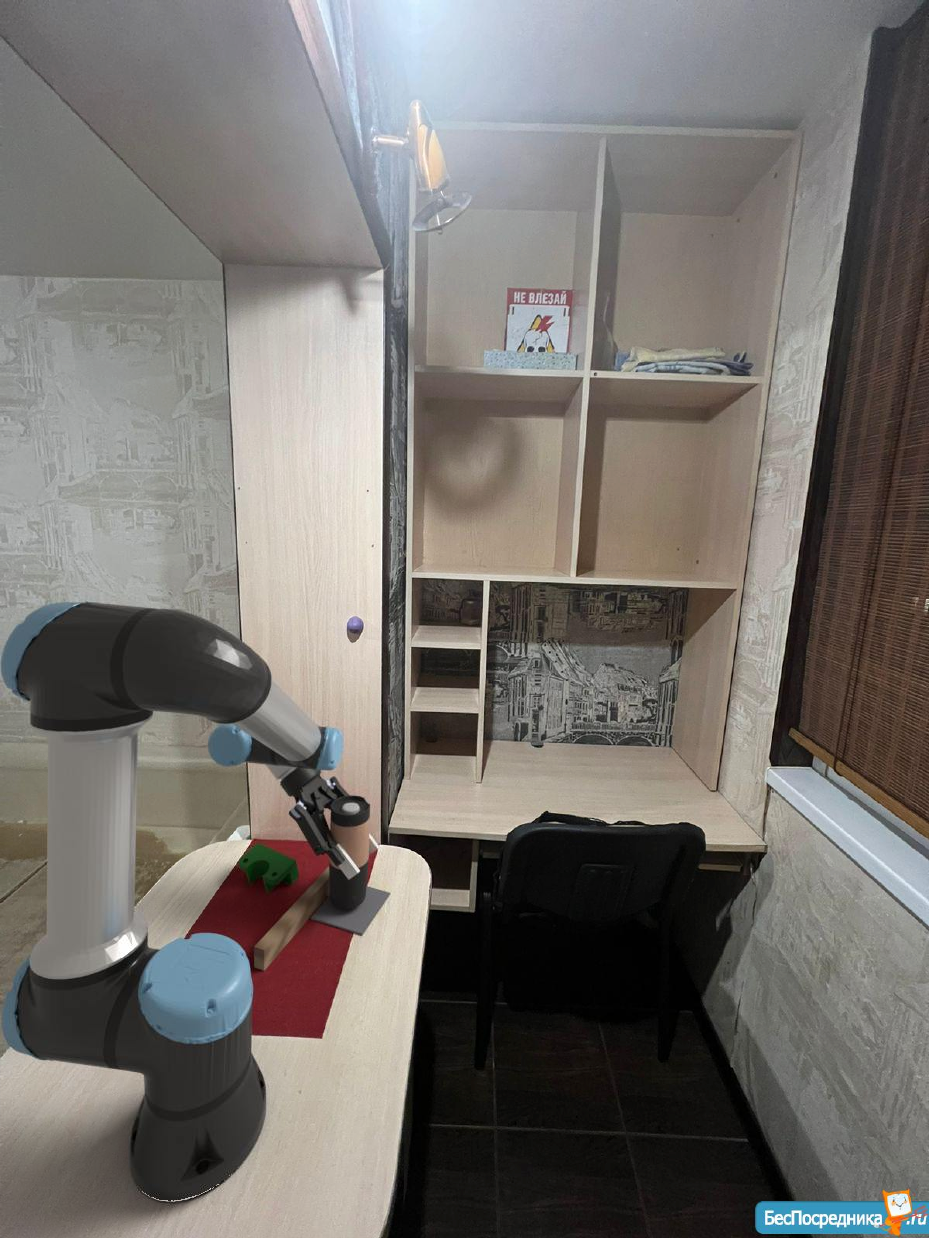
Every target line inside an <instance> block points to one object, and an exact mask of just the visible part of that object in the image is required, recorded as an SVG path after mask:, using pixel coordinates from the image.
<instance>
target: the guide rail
mask: <svg viewBox="0 0 929 1238" xmlns="http://www.w3.org/2000/svg"><path fill="white" fill-rule="evenodd" d="M328 897H329V866H327V867H326V869H325V870H324V871H323V872H322V873H321V874H320V875H319V876H318V877H317V879H316V880H314V882H313V883H311V885H310V886H309V887H308V888H307V889H306V890H305V892H303V893H302V895H301V896H300V897H299V898H298V899H297V900H296V901H295V902H294V903H293V904H292V905H291V906H290V908H289V909H288V910H286V912H285V913H284V914H282V916H281V917H280V918H279V920H277V922H275V924H274V925H273V926H272V927H271V928H270V929H269V930H268V931H267V932H266V934H265V935H264V936H263V937H261V939H260V940H259V941H258V942H257V943H256V944H255V945H254V947H253V948H254V949H253V958H254V959H253V960H254V961H253V962H254V964H253V966H254V967H253V968H254V969H258V970H260V971H263V972H265V971H266V970H267V968H268V967H269V966H270V965H271V964H272V963H273V961H274V960H275V959H276V958H277V957H278V955H279V954H280V953H281V952H282V951H283V949H284V948H285V947H286V946H287V945H288V944H289V943H290V942H291V940H292V939H293V938H294V936H295V935H297V933H298V932H299V931H300V930H301V928H302V927H303V926H304V925H305V923H306V922H307V921H308V920H309V919H311V917H312V916H313V915H314V913H315V912H316V911H317V910H318V909H319V908H320V906H321V905H322V904H323V903H324V902H325V900H326V899H327V898H328Z"/></svg>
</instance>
